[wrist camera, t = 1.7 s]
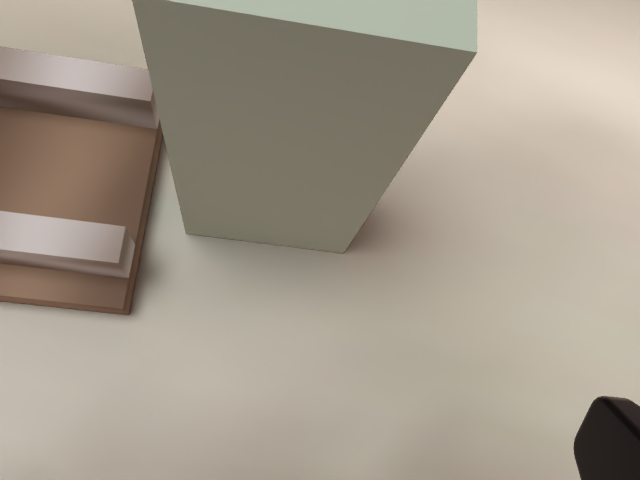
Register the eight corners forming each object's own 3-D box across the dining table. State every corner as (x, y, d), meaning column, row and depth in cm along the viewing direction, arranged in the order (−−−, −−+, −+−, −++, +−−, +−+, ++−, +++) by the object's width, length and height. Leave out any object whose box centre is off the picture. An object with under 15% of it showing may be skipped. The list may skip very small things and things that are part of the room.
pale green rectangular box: (348, 193, 23) (477, -59, 11) (343, 253, 23) (477, 52, 10) (195, 172, 23) (156, -121, 11) (186, 233, 22) (131, -6, 10)
